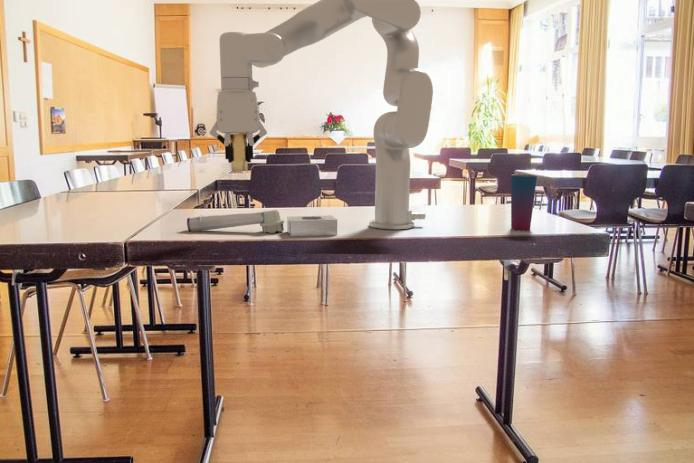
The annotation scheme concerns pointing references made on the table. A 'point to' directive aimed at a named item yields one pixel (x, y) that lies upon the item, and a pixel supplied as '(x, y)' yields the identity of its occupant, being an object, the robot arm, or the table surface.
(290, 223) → the block
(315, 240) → the table surface
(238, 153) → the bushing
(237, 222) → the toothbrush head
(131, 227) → the table surface
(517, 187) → the cup
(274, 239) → the table surface
